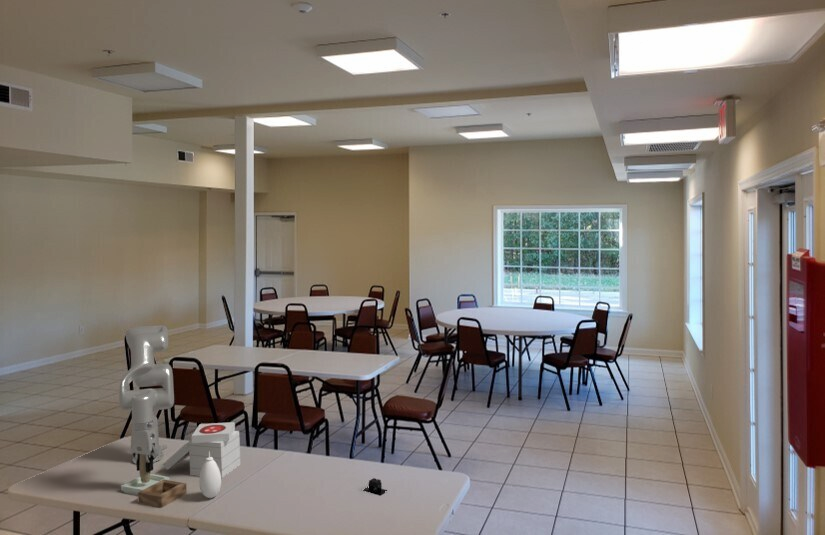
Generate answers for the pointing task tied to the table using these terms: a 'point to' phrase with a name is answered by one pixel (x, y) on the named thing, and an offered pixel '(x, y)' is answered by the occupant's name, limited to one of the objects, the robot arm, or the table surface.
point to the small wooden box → (160, 500)
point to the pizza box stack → (210, 448)
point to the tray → (141, 484)
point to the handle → (143, 468)
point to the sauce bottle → (210, 478)
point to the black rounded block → (375, 487)
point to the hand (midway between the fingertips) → (145, 469)
